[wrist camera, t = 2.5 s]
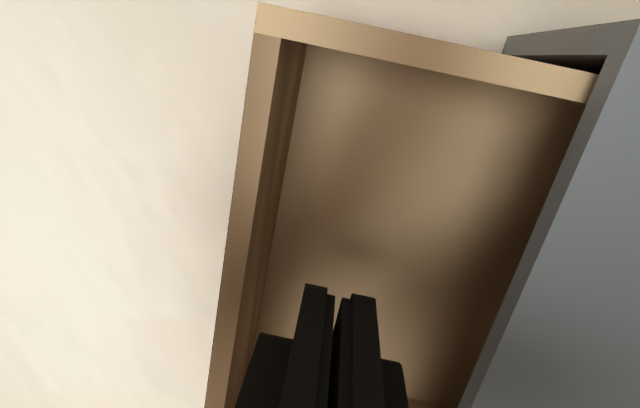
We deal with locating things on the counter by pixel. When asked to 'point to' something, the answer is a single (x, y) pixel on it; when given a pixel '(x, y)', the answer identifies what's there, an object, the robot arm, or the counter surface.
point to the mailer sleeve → (577, 247)
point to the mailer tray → (386, 190)
